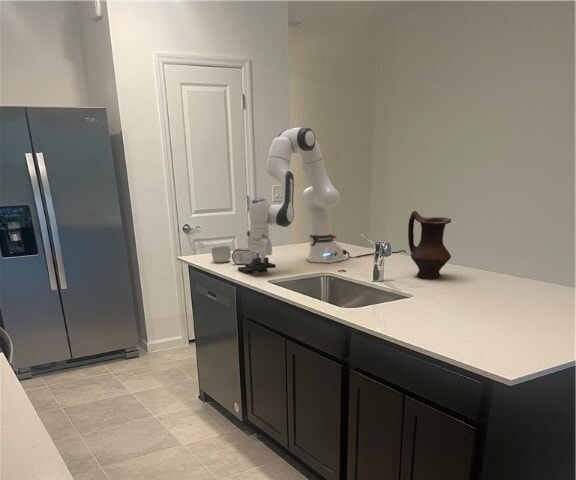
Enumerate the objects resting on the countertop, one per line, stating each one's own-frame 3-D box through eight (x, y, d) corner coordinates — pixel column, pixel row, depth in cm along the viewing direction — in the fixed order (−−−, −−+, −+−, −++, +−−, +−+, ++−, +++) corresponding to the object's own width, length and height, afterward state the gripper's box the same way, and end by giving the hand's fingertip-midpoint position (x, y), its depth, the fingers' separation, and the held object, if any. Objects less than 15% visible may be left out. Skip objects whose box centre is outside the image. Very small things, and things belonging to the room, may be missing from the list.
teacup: (233, 262, 304) (232, 248, 301) (214, 264, 300) (213, 249, 297) (226, 258, 316) (225, 244, 313) (208, 260, 312) (207, 245, 309)
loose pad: (263, 263, 283) (263, 254, 281) (275, 267, 272) (275, 258, 270) (242, 265, 278) (242, 256, 276) (254, 270, 267) (253, 261, 265)
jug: (453, 274, 266) (460, 210, 254) (442, 282, 252) (449, 214, 240) (411, 270, 276) (416, 208, 264) (399, 277, 262) (403, 212, 250)
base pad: (258, 267, 290) (258, 264, 289) (267, 271, 282) (267, 268, 281) (237, 270, 285) (237, 267, 284) (246, 273, 277) (245, 270, 276)
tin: (259, 263, 299) (259, 248, 296) (258, 265, 296) (258, 249, 293) (232, 263, 301) (231, 248, 297) (231, 265, 298) (230, 249, 295)
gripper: (275, 235, 260) (275, 264, 265) (256, 230, 277) (257, 258, 282) (263, 236, 257) (264, 266, 263) (245, 231, 274) (246, 259, 279)
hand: (260, 262), depth 272 cm, fingers closed on loose pad, 2 cm apart
